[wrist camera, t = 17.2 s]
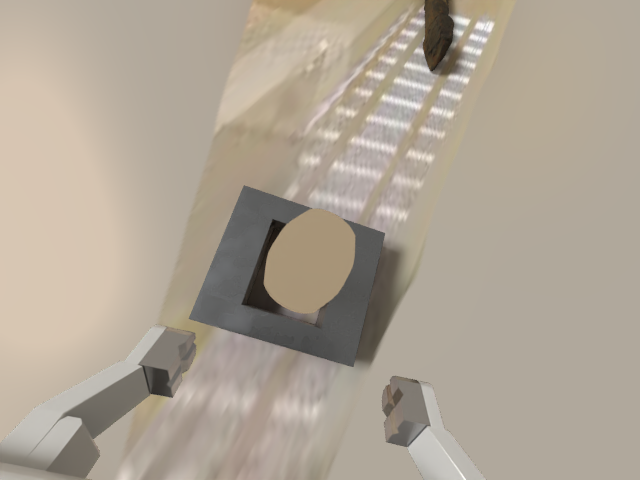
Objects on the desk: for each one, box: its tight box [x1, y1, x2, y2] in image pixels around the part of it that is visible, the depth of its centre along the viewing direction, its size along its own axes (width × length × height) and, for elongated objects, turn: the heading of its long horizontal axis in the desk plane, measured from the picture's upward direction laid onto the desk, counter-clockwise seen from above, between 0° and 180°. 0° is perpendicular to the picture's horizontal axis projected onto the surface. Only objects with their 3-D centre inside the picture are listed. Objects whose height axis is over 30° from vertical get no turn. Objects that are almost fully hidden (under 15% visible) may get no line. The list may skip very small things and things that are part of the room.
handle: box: [264, 209, 355, 314], centre depth 23 cm, size 5×6×15 cm
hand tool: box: [423, 0, 454, 71], centre depth 40 cm, size 19×4×5 cm, turn 172°
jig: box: [189, 186, 385, 367], centre depth 28 cm, size 14×16×4 cm
